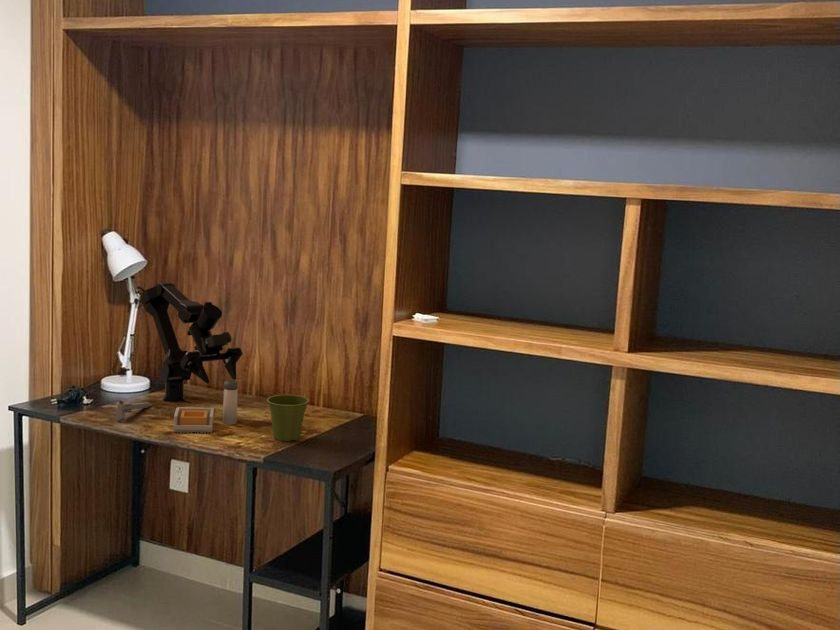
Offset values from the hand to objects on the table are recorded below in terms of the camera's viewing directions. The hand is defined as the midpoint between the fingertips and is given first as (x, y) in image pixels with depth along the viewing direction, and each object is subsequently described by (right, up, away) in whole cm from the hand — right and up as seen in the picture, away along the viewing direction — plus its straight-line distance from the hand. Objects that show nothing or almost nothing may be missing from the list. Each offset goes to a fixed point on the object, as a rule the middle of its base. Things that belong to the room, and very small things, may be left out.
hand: (221, 381), depth 254 cm
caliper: (-27, -10, +2) cm, 29 cm away
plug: (+3, -12, -2) cm, 13 cm away
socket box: (-6, -13, -9) cm, 17 cm away
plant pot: (+21, -15, -13) cm, 29 cm away
